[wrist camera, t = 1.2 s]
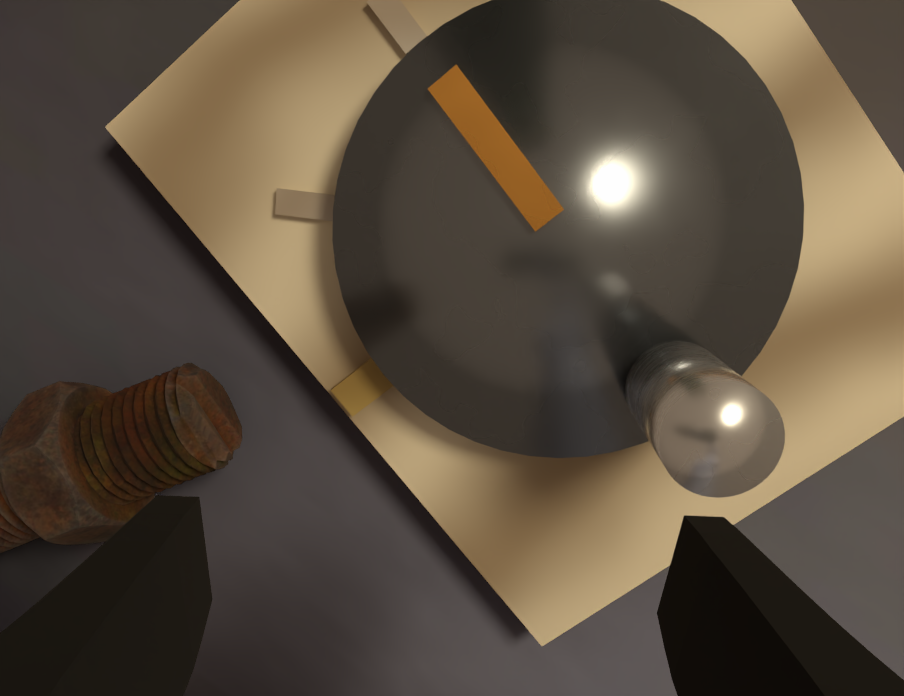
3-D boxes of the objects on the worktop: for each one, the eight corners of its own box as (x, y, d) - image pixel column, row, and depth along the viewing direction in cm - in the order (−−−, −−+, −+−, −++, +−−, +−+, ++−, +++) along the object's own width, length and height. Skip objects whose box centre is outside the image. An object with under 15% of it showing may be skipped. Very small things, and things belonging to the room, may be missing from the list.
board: (986, 335, 20) (1024, 347, 19) (539, 623, 23) (542, 652, 22) (576, -288, 17) (583, -331, 16) (127, 130, 20) (98, 126, 19)
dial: (883, 284, 19) (1017, 318, 14) (522, 529, 21) (530, 631, 16) (613, -116, 17) (660, -235, 12) (250, 198, 19) (169, 202, 14)
